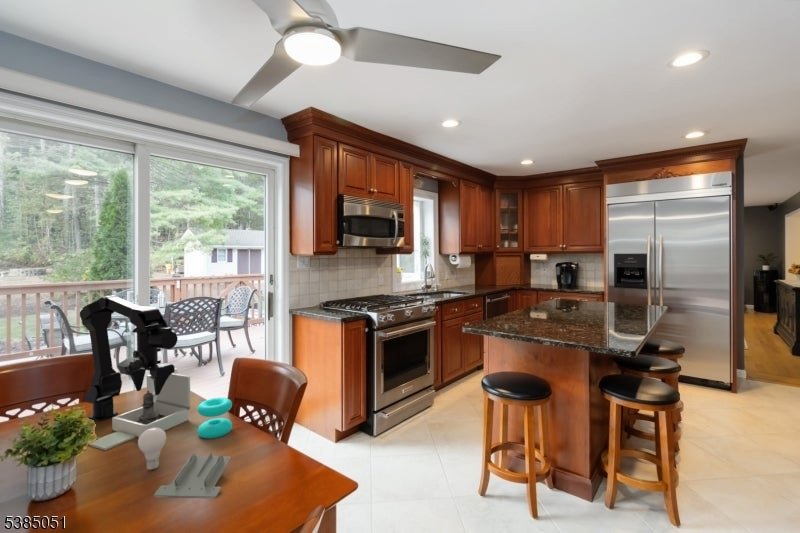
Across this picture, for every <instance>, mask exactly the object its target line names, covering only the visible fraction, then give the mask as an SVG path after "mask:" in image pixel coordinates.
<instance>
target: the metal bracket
mask: <svg viewBox="0 0 800 533" xmlns="http://www.w3.org/2000/svg"><path fill="white" fill-rule="evenodd" d="M231 458H232V457H231V456H224V455H223V454H219V455H217V456H215V455H213V451H210V452H209V454H208V455H196V453H195V454H191V455H190V456H189V457H188V459H187V460H186V462H185V463H184V464H183V466H182V467H181V469H180V470H179V471H178V473H177V474H176V476H175V477H174V478H173V480H172V481H171V482H170V484H168V485H165V484H163V485H160V486H159V487H158V488H157V490H156V492H154V495H153V497H155V498H170V497H171V498H201V499H211V500H213V499H216V498H217V497H218V496H219V493H220V492H221V490H222V486H216V485H217V482H218V481H219V479H220V477H221V476H222V474H223V473H224V471H225V468H226V467H227V466H228V464H229V463H230V461H231Z"/></svg>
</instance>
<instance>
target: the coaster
mask: <svg viewBox="0 0 800 533" xmlns="http://www.w3.org/2000/svg"><path fill="white" fill-rule="evenodd" d="M135 438H136V436H133V435H130V434H126V433H122V432H119V431H114V432H112V433H109V434H107V435H105V436H101V437H99V438H97V439H98V440H96V439H95V440H96V441H94V440H93V441H94V442H93V443H91V444H89V445H88V446H90V447H93V448H96V449H97V448H98V449H99V450H104V451H108V450H109V449H111V448H114V447H118V445H121V444H123V443H126V442H128V441H131V440H133V439H135Z"/></svg>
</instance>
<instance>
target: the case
mask: <svg viewBox="0 0 800 533" xmlns="http://www.w3.org/2000/svg"><path fill="white" fill-rule="evenodd" d="M154 397H155V393H154V395H153V398H154ZM154 403H155V404H154V411H155V412H158V413H159V415H161V416H163V417H162V418H158V419H157V420H156V421H154V422H151V423H149V424H147V425H145V424H142V423H140V421H139V419H138V417H139V416H140V415H141V414H142V413H143V406H141V407H138V408H135V409H133V410H130V411H126V412H124V413H122V414H118V415H115V416H112V419H111V420H112V421H111V422H112V425H111V426H112V431H114V432H116V431H119V432H122V433H126V434H130V435H133V436H135V437H138V438H139V437H140V435H141V434H142V433H143V432H144V431H145V430H147V429H149V428H152V427H158V428H161V429H163V430H164V431H166V430H167V431H168V430H169V429H171V428H174V427H175V426H177V425H180V424H183V423H185V422H186V421H189V410H190V409H191V376H190V375H184V374H178V373H177V374H174V373H172V374H171V375H169V377H168V379H167V380H166V382H165V384H164V386H163V388H162V390H161V392H160V394H159V395H157V400H156V401H155V402H154Z"/></svg>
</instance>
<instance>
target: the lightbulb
mask: <svg viewBox="0 0 800 533" xmlns="http://www.w3.org/2000/svg"><path fill="white" fill-rule="evenodd" d="M165 431H166V430H163V429H161V428H158V427H152V428H149V429H147V430H145V431H144V432H143V433H142V434H141V435H140V437H138V440H137V447H138V449H139V450H140V451H141V453H143V455H144V457H145V459H146V469H147V470H150V471H153V470H155V469H156V468H158V467H159V465H160V464H159V460H160V458H159V457H160V455H161V451H162V449H163V447H164V445H166V441H167V434H166V432H165Z"/></svg>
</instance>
